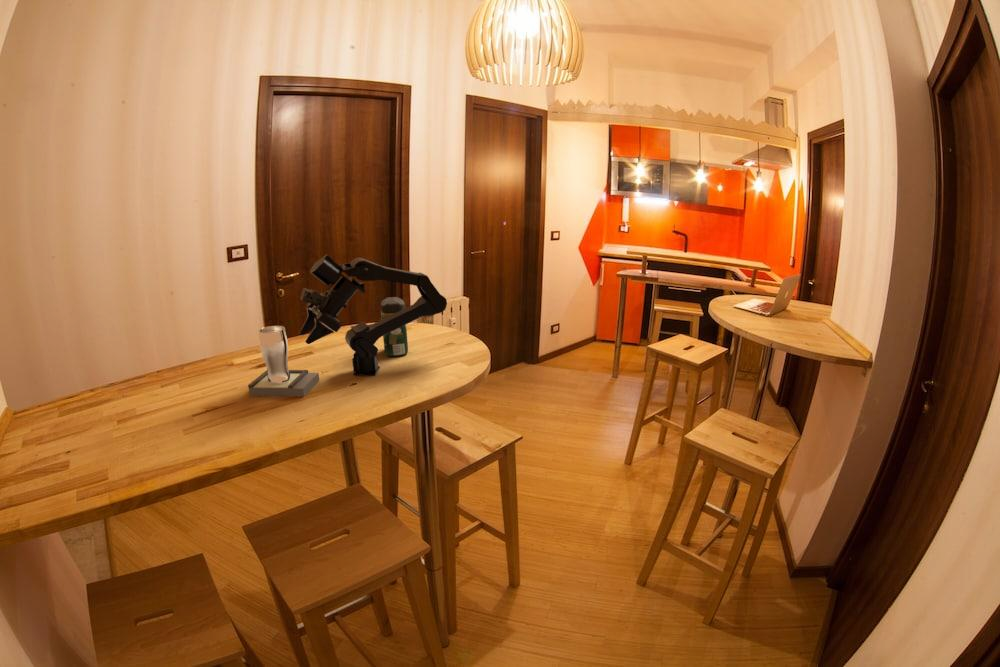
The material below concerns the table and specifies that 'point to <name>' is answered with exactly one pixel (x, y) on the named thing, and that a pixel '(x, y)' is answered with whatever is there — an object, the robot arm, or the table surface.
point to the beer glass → (275, 353)
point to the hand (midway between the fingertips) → (303, 338)
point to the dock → (284, 385)
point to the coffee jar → (398, 338)
